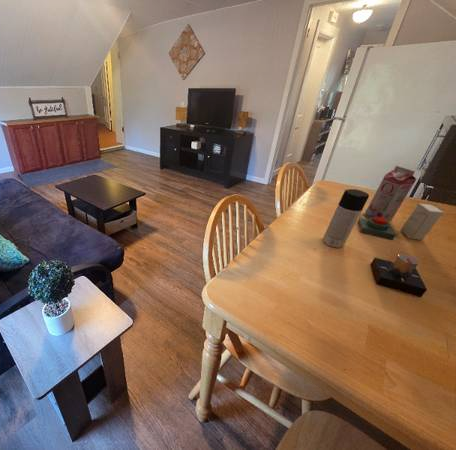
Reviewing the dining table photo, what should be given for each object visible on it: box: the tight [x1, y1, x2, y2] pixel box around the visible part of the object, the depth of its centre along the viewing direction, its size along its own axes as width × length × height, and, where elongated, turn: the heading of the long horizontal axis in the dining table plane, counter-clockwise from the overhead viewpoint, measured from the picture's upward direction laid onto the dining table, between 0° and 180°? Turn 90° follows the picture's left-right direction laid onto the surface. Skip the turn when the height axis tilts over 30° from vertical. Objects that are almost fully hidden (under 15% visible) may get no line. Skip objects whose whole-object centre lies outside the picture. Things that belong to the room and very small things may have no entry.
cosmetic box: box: [400, 203, 445, 241], centre depth 90 cm, size 6×4×12 cm
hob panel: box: [369, 257, 428, 298], centre depth 72 cm, size 10×10×3 cm
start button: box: [373, 217, 387, 225], centre depth 94 cm, size 4×4×2 cm
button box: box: [357, 217, 397, 241], centre depth 95 cm, size 10×9×4 cm
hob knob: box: [389, 253, 420, 277], centre depth 70 cm, size 4×4×5 cm
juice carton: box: [363, 165, 417, 223], centre depth 99 cm, size 7×7×22 cm
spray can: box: [322, 188, 370, 248], centre depth 84 cm, size 7×7×20 cm
